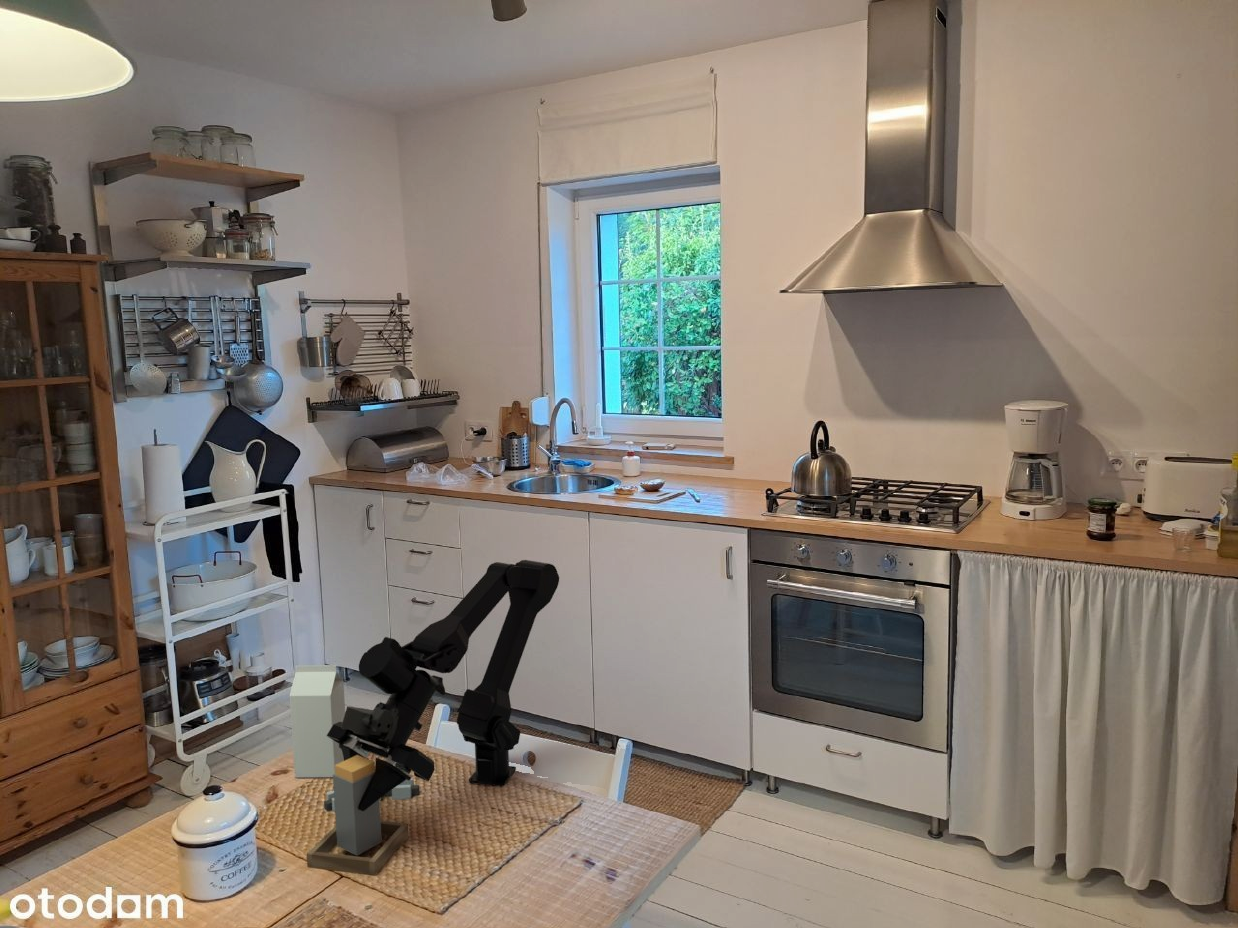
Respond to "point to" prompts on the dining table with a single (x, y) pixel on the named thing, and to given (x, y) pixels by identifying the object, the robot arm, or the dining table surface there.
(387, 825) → the brown flat square frame
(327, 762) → the milk carton
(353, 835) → the grey box with lid
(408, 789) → the grey jointed bar
